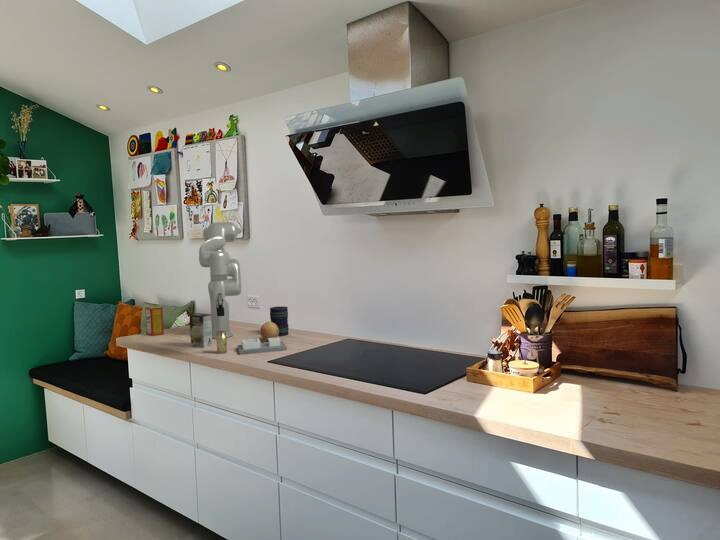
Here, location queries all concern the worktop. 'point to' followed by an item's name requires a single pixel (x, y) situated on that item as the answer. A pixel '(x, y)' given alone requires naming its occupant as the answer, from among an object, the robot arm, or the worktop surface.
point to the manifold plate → (261, 346)
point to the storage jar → (280, 319)
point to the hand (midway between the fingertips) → (220, 314)
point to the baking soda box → (154, 320)
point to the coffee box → (200, 330)
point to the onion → (269, 330)
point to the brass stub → (221, 342)
